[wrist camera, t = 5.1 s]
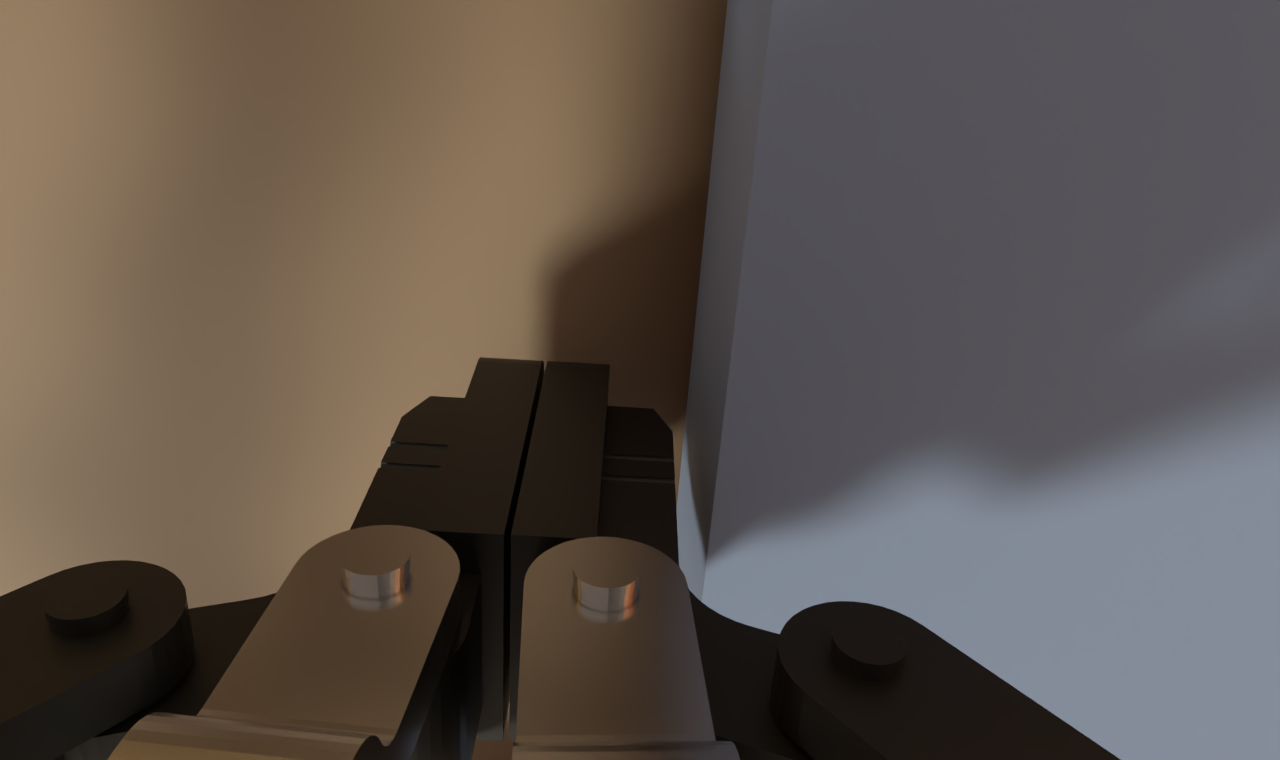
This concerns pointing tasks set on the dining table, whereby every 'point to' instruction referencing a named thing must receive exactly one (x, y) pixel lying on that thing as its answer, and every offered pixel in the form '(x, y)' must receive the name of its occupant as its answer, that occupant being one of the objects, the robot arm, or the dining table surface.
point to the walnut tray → (320, 252)
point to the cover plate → (1004, 347)
